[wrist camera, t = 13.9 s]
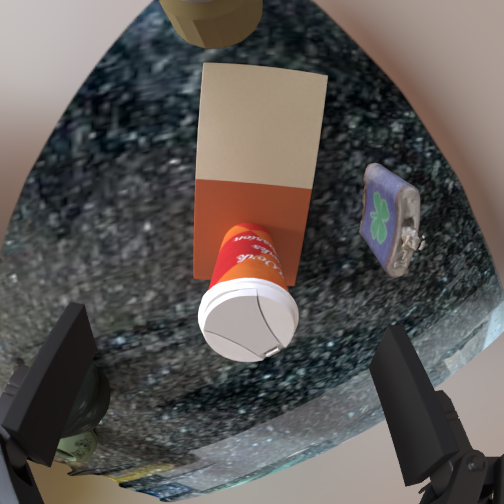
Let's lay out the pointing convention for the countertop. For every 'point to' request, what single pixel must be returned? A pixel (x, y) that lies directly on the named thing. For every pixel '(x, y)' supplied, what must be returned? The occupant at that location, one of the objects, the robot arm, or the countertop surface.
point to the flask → (390, 219)
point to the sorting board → (256, 158)
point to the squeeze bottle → (213, 20)
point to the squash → (88, 403)
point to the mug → (78, 446)
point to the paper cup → (248, 298)
